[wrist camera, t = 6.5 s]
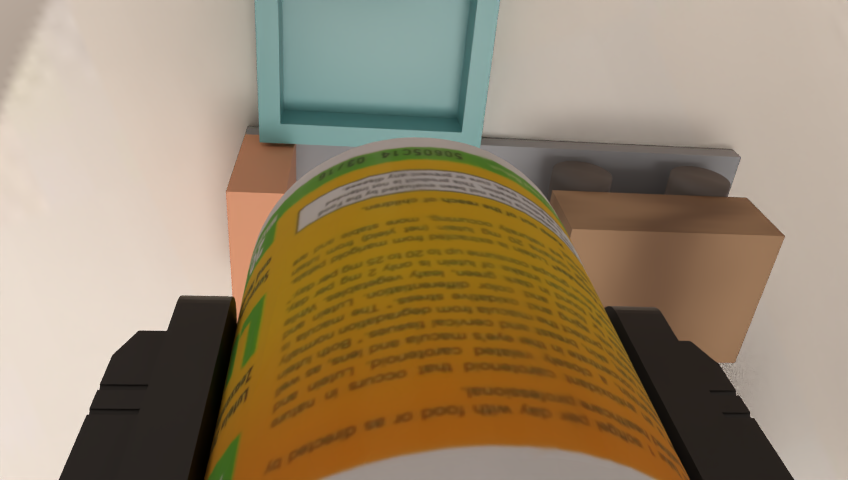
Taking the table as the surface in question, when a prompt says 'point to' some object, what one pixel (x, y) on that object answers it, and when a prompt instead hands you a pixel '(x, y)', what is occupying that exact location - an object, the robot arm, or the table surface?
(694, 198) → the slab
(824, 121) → the table surface
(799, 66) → the table surface
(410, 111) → the cradle
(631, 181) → the rail
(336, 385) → the supplement bottle
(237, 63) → the table surface
